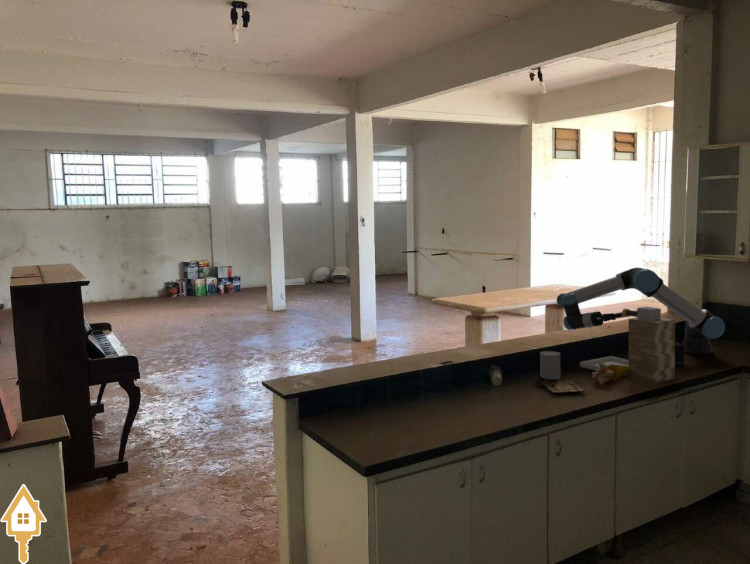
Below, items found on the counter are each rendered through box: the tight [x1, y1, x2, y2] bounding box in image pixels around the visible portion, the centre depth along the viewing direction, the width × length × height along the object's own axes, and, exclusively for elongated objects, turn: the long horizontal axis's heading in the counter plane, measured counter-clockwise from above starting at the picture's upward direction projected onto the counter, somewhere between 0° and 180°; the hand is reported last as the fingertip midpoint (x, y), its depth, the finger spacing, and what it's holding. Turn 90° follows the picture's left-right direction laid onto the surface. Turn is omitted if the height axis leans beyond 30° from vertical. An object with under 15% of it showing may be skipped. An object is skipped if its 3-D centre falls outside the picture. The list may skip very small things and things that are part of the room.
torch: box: [591, 362, 629, 385], centre depth 281 cm, size 8×8×25 cm
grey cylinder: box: [539, 350, 562, 380], centre depth 289 cm, size 10×10×12 cm
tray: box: [579, 355, 629, 378], centre depth 302 cm, size 22×25×2 cm
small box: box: [675, 341, 685, 366], centre depth 308 cm, size 11×6×10 cm, turn 179°
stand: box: [628, 317, 676, 384], centre depth 282 cm, size 14×14×28 cm
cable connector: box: [621, 306, 662, 321], centre depth 286 cm, size 6×18×5 cm, turn 26°
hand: (634, 313), depth 301 cm, fingers open, 13 cm apart
